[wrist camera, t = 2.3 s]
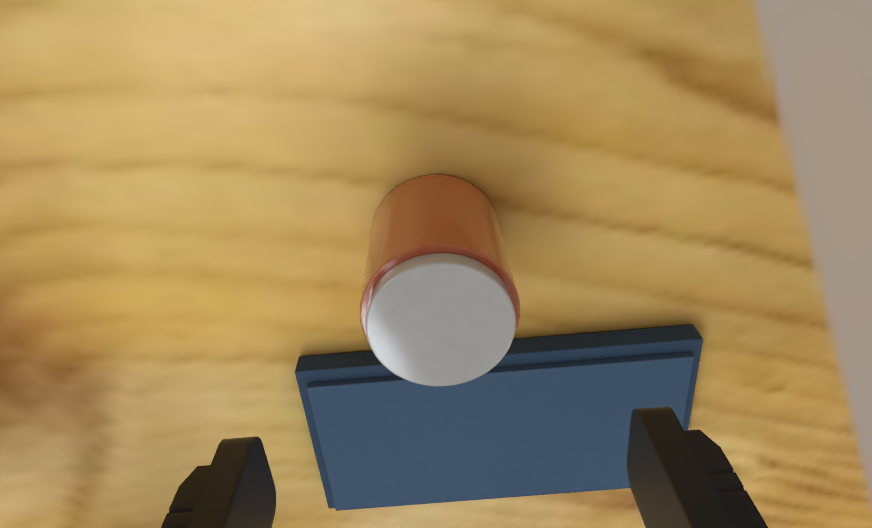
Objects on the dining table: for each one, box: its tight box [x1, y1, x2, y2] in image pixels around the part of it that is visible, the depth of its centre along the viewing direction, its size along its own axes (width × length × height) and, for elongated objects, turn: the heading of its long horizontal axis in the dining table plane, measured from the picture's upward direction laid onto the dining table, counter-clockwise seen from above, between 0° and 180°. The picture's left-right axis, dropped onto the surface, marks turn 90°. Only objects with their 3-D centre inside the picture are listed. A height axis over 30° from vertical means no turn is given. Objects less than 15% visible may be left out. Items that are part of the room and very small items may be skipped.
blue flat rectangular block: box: [295, 325, 703, 510], centre depth 26 cm, size 8×16×1 cm, turn 95°
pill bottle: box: [360, 175, 520, 386], centre depth 19 cm, size 5×5×6 cm
